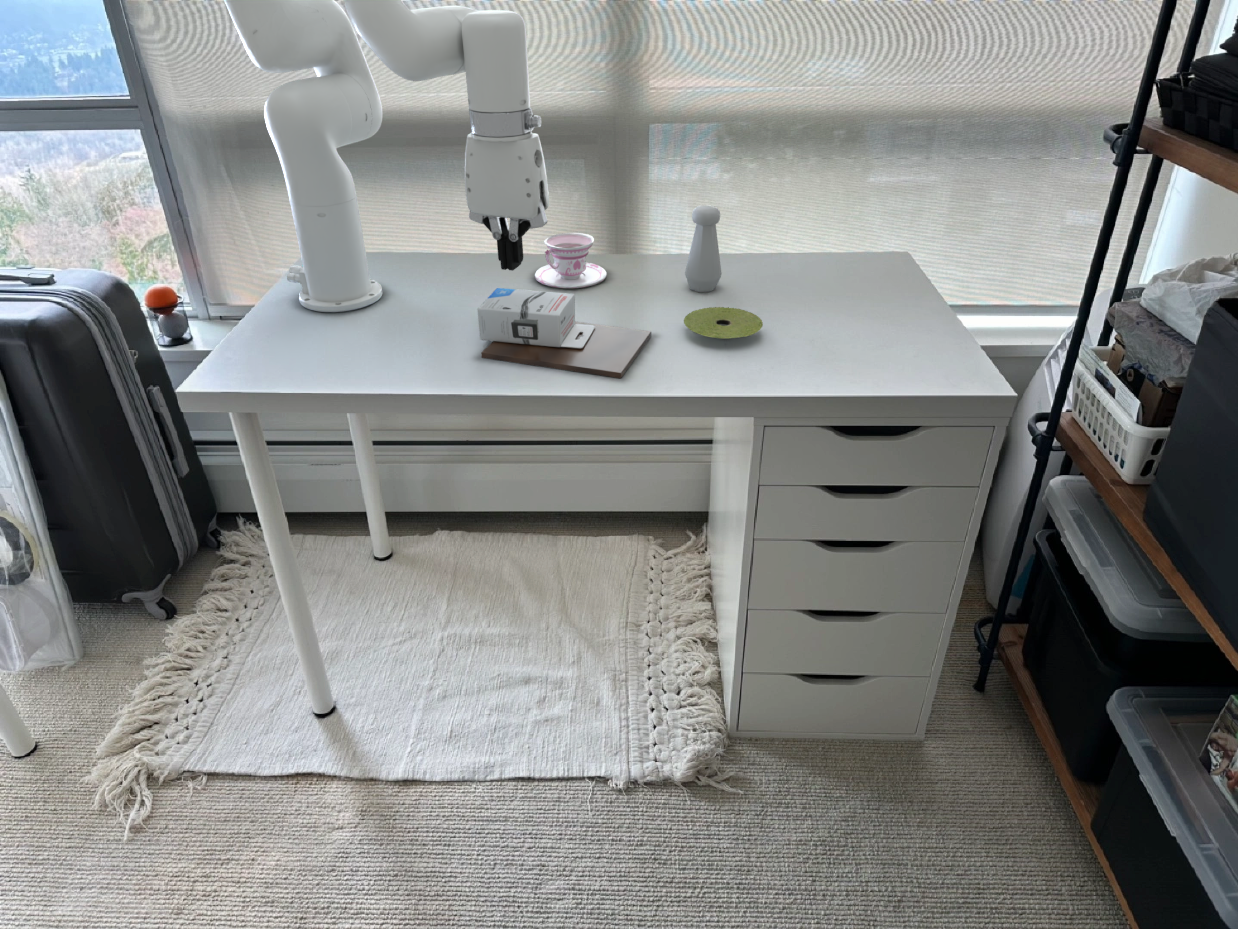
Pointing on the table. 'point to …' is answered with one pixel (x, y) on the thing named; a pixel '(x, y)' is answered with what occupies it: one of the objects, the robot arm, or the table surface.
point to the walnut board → (579, 352)
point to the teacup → (569, 262)
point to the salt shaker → (704, 250)
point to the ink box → (531, 319)
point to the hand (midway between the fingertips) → (511, 266)
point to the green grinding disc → (723, 322)
